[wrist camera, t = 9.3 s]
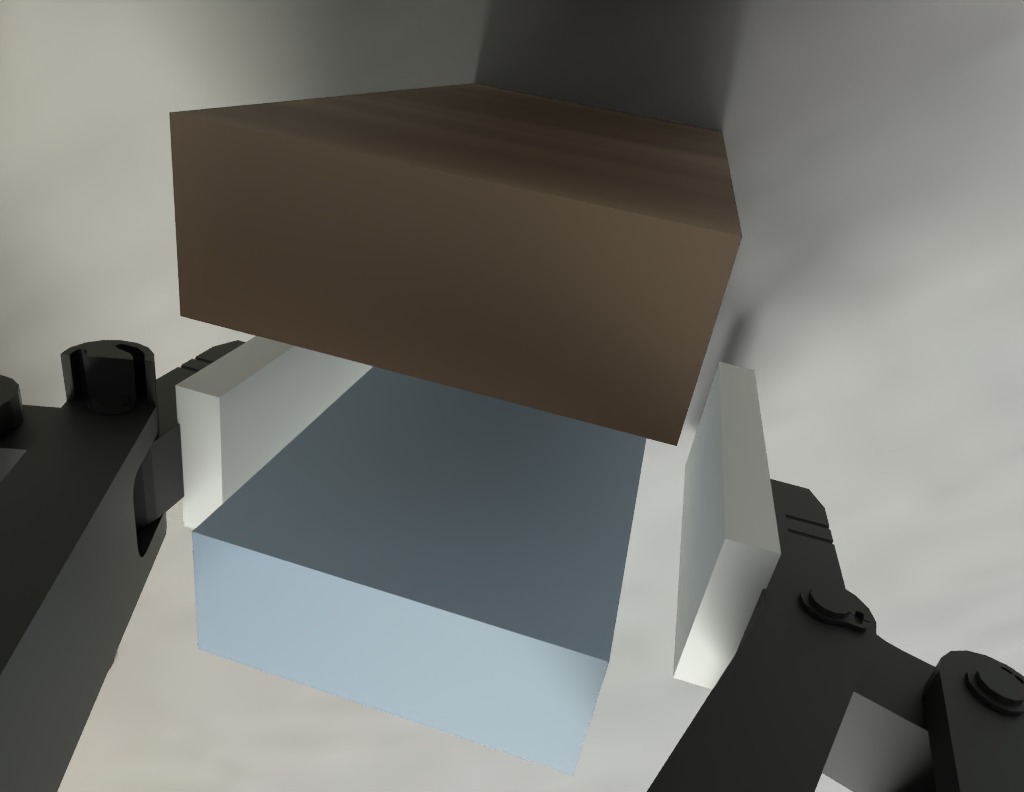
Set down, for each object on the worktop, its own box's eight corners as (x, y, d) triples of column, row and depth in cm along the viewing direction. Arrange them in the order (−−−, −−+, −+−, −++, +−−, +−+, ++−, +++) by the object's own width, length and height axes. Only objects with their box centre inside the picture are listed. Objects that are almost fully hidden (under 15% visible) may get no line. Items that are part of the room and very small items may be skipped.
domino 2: (446, 300, 17) (191, 532, 9) (660, 352, 16) (609, 661, 8) (436, 373, 18) (198, 649, 10) (639, 427, 17) (573, 776, 9)
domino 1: (473, 82, 15) (170, 112, 7) (722, 131, 14) (741, 236, 6) (461, 180, 16) (180, 316, 7) (694, 230, 15) (677, 446, 7)
